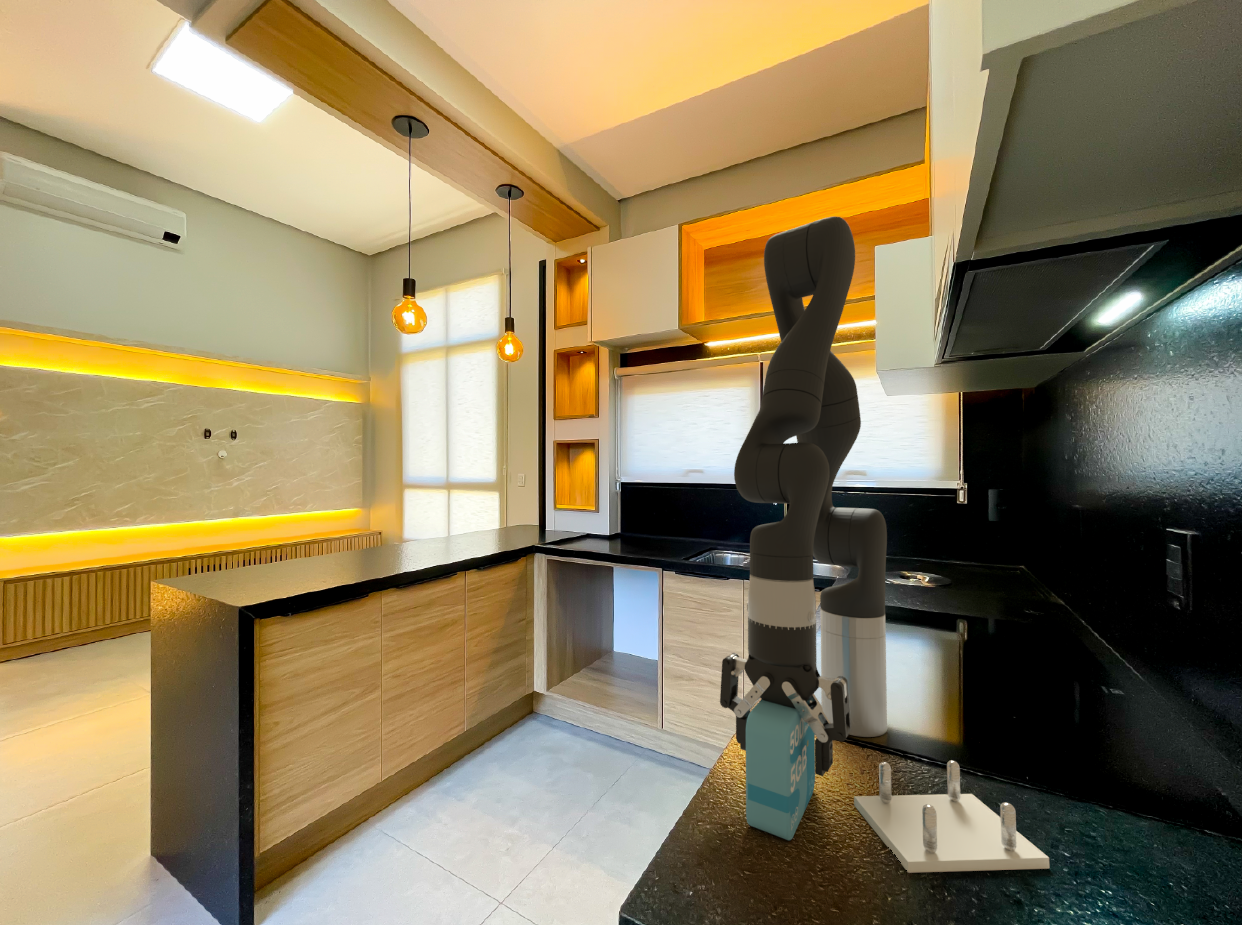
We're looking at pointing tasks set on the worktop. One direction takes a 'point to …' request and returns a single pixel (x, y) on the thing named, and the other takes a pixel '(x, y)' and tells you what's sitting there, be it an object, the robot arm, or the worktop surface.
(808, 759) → the data package
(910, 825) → the tray
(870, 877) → the worktop surface
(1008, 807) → the guide pins
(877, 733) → the robot arm
